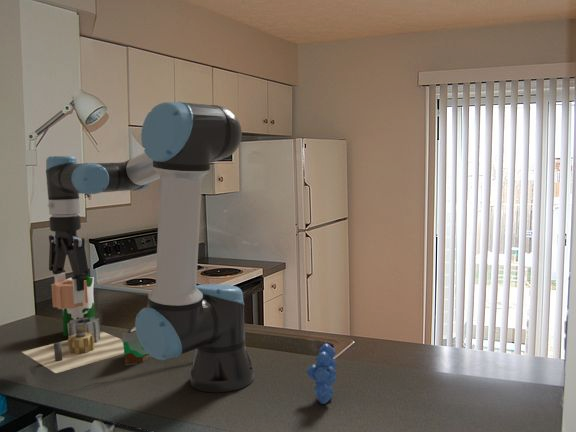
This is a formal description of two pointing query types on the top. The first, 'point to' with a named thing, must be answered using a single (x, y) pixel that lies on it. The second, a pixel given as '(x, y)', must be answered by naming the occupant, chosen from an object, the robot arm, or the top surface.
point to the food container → (133, 348)
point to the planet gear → (66, 295)
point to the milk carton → (82, 310)
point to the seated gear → (85, 327)
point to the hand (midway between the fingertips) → (70, 299)
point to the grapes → (324, 373)
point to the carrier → (76, 351)
